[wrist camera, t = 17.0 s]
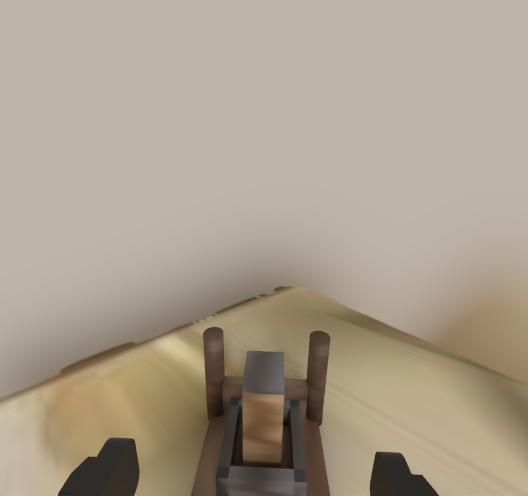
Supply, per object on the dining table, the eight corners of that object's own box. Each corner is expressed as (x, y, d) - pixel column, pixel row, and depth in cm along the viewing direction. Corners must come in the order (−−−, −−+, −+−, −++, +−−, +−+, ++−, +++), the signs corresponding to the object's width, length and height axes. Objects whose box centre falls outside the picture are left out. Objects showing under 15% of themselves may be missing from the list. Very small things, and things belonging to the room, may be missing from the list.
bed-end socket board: (320, 411, 40) (328, 330, 36) (338, 514, 29) (352, 411, 25) (209, 407, 41) (205, 326, 37) (184, 505, 29) (174, 403, 25)
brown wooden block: (279, 434, 36) (283, 352, 32) (280, 477, 31) (284, 386, 27) (247, 432, 36) (247, 350, 32) (242, 474, 31) (242, 384, 27)
